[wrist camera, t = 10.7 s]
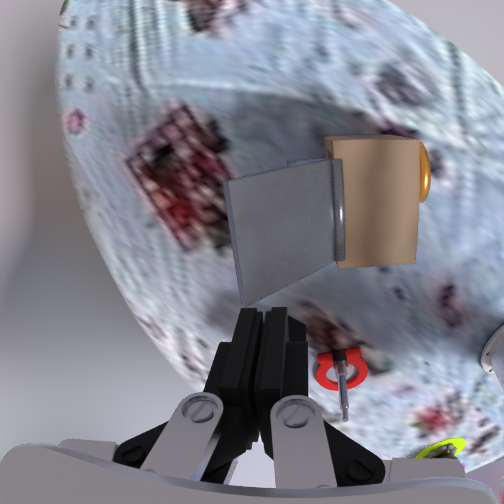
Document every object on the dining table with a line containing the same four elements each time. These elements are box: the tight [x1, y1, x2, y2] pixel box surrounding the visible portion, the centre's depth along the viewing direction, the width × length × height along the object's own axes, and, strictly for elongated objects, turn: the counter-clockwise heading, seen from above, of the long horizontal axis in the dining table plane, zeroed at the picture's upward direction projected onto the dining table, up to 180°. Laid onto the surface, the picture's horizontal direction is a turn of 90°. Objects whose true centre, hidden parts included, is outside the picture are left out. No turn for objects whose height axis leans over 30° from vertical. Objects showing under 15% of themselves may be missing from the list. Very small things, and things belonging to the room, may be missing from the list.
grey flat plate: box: [223, 158, 346, 307], centre depth 24 cm, size 11×9×1 cm
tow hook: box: [316, 347, 368, 422], centre depth 41 cm, size 8×13×9 cm
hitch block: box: [324, 135, 420, 268], centre depth 31 cm, size 8×12×10 cm, turn 7°
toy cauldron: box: [415, 438, 466, 468], centre depth 51 cm, size 15×15×11 cm
